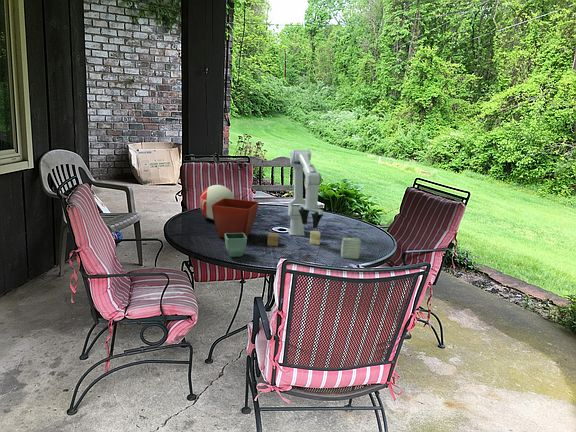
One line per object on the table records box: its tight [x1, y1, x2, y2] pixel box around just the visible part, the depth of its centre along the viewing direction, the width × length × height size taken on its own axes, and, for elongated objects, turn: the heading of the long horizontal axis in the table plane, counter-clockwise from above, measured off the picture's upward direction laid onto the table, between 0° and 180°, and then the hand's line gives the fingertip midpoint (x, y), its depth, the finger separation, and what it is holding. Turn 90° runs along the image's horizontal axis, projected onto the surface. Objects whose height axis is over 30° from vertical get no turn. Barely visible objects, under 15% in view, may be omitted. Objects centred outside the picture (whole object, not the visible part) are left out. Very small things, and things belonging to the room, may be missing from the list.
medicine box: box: [340, 237, 362, 260], centre depth 214 cm, size 8×4×9 cm, turn 92°
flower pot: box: [224, 233, 248, 258], centre depth 206 cm, size 9×9×9 cm
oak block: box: [309, 230, 321, 246], centre depth 232 cm, size 4×4×6 cm
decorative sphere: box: [198, 184, 235, 221], centre depth 264 cm, size 20×20×20 cm
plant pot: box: [212, 198, 259, 239], centre depth 235 cm, size 19×19×17 cm
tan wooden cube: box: [267, 232, 279, 247], centre depth 226 cm, size 5×5×5 cm
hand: (309, 225), depth 225 cm, fingers open, 7 cm apart
